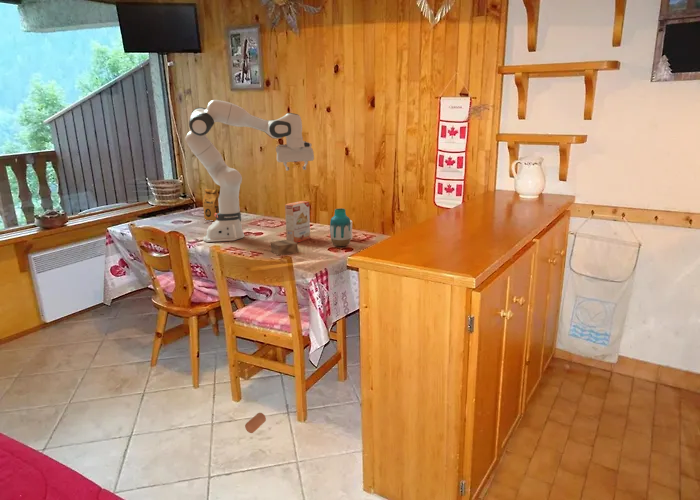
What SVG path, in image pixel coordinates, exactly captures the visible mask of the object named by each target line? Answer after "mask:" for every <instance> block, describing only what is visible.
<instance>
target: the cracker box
mask: <svg viewBox="0 0 700 500" xmlns="http://www.w3.org/2000/svg"><path fill="white" fill-rule="evenodd" d="M284 207H285V209H284V210H285V211H284V212H285V213H284V214H285V233H286V234H285V235H286V239H285V240H291V241H293V242H296V243H297V244H298V243H300V242H303V241H306V240H309V239H311V225H310V223H311V221H310V219H311V218H310V201H306V200H300V201H296V202H290V203H286V204H284Z"/></svg>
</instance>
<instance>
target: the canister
mask: <svg viewBox="0 0 700 500" xmlns="http://www.w3.org/2000/svg"><path fill="white" fill-rule="evenodd" d="M266 421H267V419H266V415H265V414H264V413H262V412H257V413H256V414H255V415H254V416H253V417H252V418H251V419H250V420H248V421H247V422H246V423H245V425H244V426H245V427H244V428H245V430H246V431H247V432H248V433H249V434H254V433H255V432H256V431H257V430H258V429H259V428H260V427H262V425H263V424H264V423H265V422H266Z"/></svg>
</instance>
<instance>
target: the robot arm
mask: <svg viewBox="0 0 700 500" xmlns="http://www.w3.org/2000/svg"><path fill="white" fill-rule="evenodd" d="M215 123H221V124H224V125H228V126H232V127H238V128H239V127H240V128H242V127H243V128H244V127H245V128H252V129H254V130H257V131H261V132H263V133H265V134H266V135H268V136H269V138H272V139H276V140H277V139H282V138H285V139H286V140H285V141H286V144H278V145H277V146H276V147H275V152H276V161H277V162H278V163H283V166H284V167H285V171H290V166H288V165H287V164H288V163H290V162H291V163H294V162H296V163H297V162H304V165H303V166H302V170H303V171H304V170H307V166H308V164H309V162H313V161H314V160H315V154H314V153H315V152H314V150H313V148H312V143H311V142H308V141H304V137H303V121H302V117H301V116H300V114H297V113H292V112H287V113H286V114H284V115H283V116H281V117H279V118H277V119H269V120H267V119H263V118H261V117H259V116H255V115H252V114H251V113H249V112H248V111H247V110H246V109H245V108H244V107H242V106H239V105H237V104H235V103H232V102H229V101H225V100H220V99H212V100H210V101H209V102H208V103H207V106H206V108H205V107H196V108H195V109H193V110H192V111H191V114H190V116H189V121H188V127H189V130H190V131H188V132H187V134H186V135H185V137H184V141H185V144H186V146H188V148H189V150H190V151H191V152H192V154H193V156H195V158H197V160H198V161H199V162H200V164H201V165H202V166H203V167H204V169H206V171H207V173H208V174H209V176H210V177H211V179H212V181H213V182H214V184H215V185H217V186H219V187H220V188H219V198H218V203H219V213H218V214H217V213H215V215H214V216H215V217H216V221H215V222H212V223H211V224H210V225H209V226H208V227H207V230H206V235H204V236H203V238H202V240H203V242H205V243H206V242H207V243H211V242H229V241H236V240H240V239H242V238H243V239H244V237H245V234H244V231H243V228H242V227H243V226H242V213H241V210H240V191H241V190H240V189H241V185H242V182H243V176H242V174H241V173H240V171H239V170H237V169H236V168H233V167H230V166H228V165H227V163H226V162H225V160H224V158H223V156H222V154H221V152H220V151H219V149H217V148H216V146H215V145H214V144H213V143H212V142H211V140H210V139H209V138H208V136H207V134H208V133H209V132H210V131H211V129H212V128H213V126H214V124H215Z"/></svg>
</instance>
